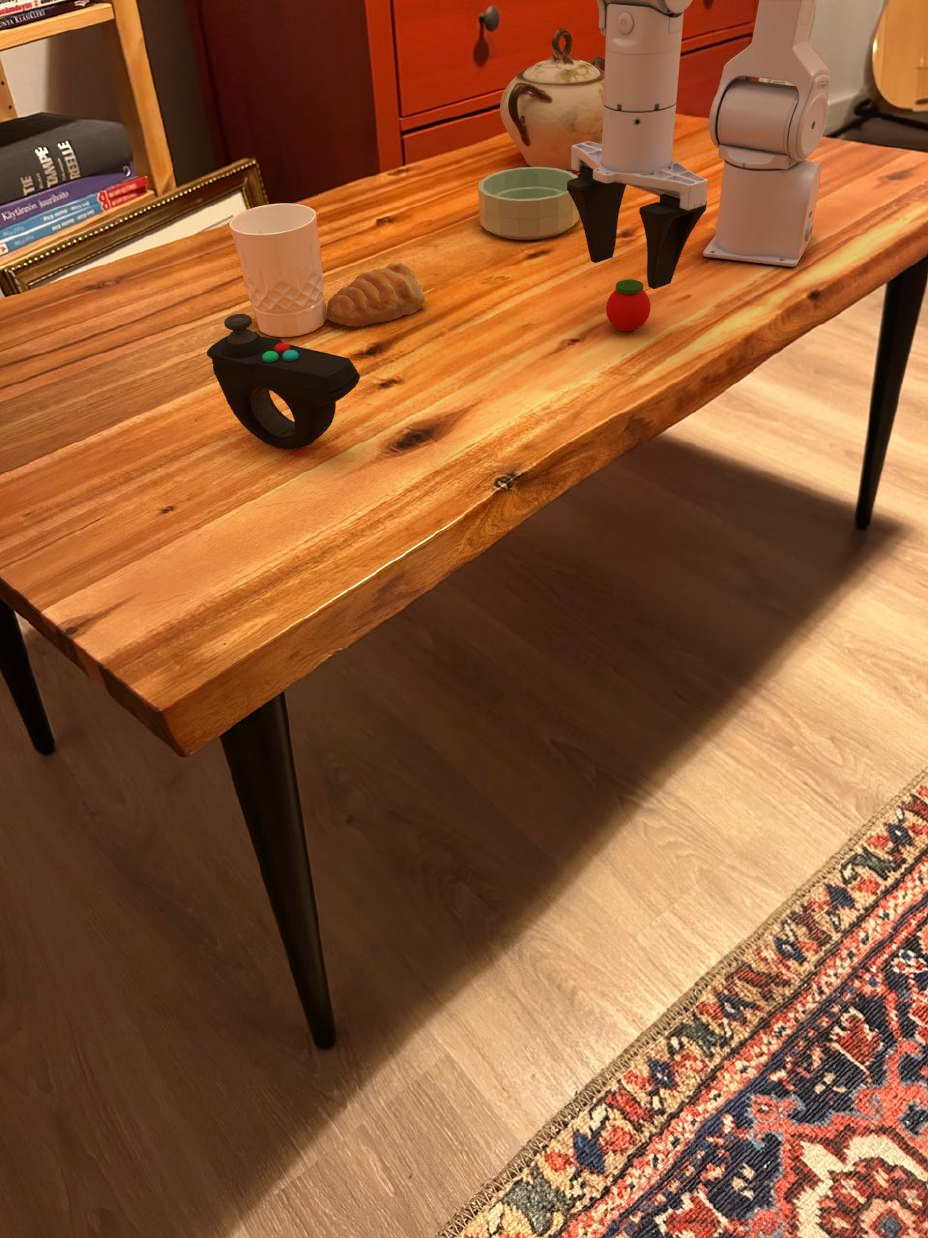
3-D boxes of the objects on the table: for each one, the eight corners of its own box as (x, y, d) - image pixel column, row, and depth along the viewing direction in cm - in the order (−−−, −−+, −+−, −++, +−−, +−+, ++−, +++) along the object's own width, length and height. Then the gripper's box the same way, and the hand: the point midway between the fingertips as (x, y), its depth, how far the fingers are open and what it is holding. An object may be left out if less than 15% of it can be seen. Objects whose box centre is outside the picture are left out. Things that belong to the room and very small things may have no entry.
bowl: (592, 211, 112) (594, 171, 109) (557, 247, 105) (557, 204, 102) (504, 202, 116) (503, 163, 113) (464, 236, 109) (461, 194, 106)
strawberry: (654, 322, 90) (658, 278, 87) (641, 341, 87) (644, 296, 84) (613, 316, 91) (615, 273, 88) (599, 335, 89) (600, 290, 86)
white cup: (345, 309, 96) (330, 205, 89) (311, 344, 90) (292, 236, 84) (275, 302, 98) (255, 200, 92) (237, 336, 93) (213, 231, 86)
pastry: (352, 339, 91) (346, 299, 88) (314, 317, 95) (307, 279, 92) (431, 308, 95) (427, 269, 92) (391, 289, 99) (387, 251, 97)
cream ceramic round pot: (559, 133, 136) (560, 8, 126) (649, 149, 128) (658, 18, 118) (467, 172, 125) (460, 40, 115) (559, 193, 117) (560, 53, 107)
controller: (253, 416, 81) (226, 301, 74) (377, 447, 76) (360, 327, 70) (220, 441, 78) (190, 324, 72) (346, 475, 73) (326, 353, 67)
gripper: (543, 96, 80) (543, 260, 89) (665, 131, 70) (652, 310, 79) (609, 79, 82) (602, 240, 91) (735, 111, 73) (714, 287, 82)
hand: (629, 271), depth 86 cm, fingers open, 7 cm apart
